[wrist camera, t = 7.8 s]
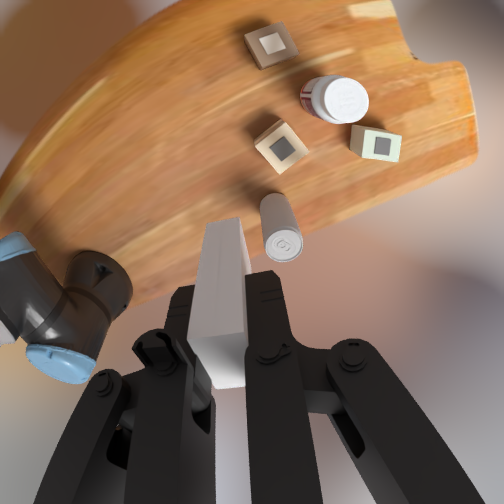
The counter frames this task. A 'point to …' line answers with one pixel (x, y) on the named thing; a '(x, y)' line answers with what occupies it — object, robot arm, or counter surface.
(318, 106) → the pill bottle
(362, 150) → the sage block
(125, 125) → the counter surface
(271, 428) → the robot arm
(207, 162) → the counter surface
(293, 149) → the beech block
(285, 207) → the beverage can
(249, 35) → the walnut block
